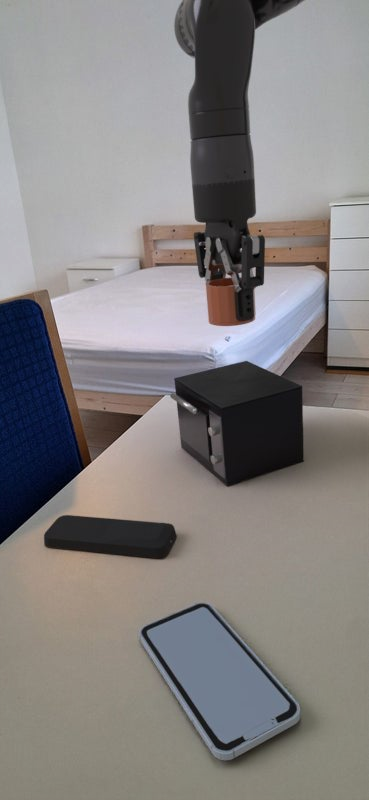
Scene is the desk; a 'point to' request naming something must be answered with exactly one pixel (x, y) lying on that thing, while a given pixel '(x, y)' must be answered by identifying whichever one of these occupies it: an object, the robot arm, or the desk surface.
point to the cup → (223, 303)
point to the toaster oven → (240, 420)
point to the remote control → (111, 536)
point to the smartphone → (218, 680)
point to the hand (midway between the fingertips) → (231, 315)
